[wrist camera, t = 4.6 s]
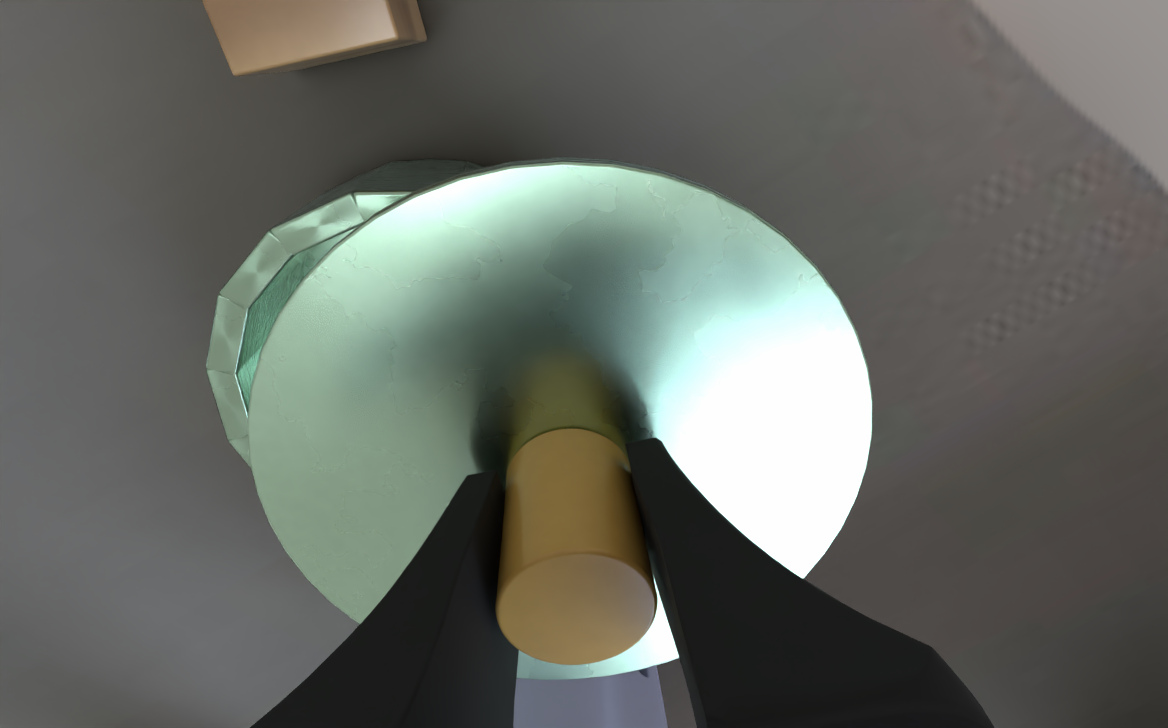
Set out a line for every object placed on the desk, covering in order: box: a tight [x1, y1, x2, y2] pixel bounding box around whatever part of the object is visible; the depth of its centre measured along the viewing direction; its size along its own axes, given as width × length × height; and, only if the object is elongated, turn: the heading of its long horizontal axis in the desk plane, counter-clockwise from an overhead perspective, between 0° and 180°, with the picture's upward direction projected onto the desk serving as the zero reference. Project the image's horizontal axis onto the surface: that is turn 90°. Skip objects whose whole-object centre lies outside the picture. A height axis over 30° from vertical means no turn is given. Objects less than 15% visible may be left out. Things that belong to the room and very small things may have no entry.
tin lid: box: [247, 157, 873, 680], centre depth 12 cm, size 13×13×4 cm
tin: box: [206, 159, 486, 469], centre depth 20 cm, size 12×12×5 cm
